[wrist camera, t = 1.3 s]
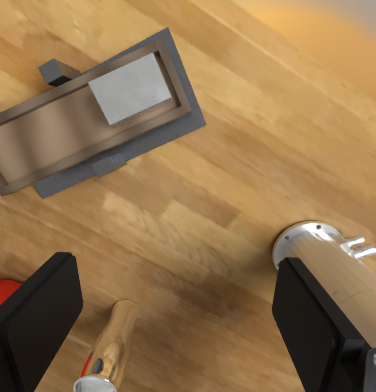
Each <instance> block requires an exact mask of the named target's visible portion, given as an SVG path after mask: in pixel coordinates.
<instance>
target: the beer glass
mask: <svg viewBox="0 0 376 392" xmlns="http://www.w3.org/2000/svg"><path fill="white" fill-rule="evenodd" d="M140 316H141V310H140V307H139V306H138V305H137V304H136V303H135V302H133V301H130V300H120V301H118V302H116V303H115V304H114V306H113V308H112V311H111V316H110V319H109V321H108V323H107V324H106V326H105V327H104V329H103V330H102V332H101V333H100V334H99V336H98V337H97V339H96V340H95V342H94V343H93V345H92V347H91V348H90V350H89V352H88V354H87V356H86V358H85V360H84V362H83V365H82V367H81V370H80V372H79V375H78V377H77V380H76V382H75V384H74V387H73V390H74V392H119V390H120V387H121V385H122V382H123V379H124V377H125V373H126V370H127V367H128V363H129V359H130V353H131V346H132V338H133V332H134V328H135V326H136V324H137V322H138V320H139V318H140Z"/></svg>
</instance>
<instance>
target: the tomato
mask: <svg viewBox="0 0 376 392" xmlns="http://www.w3.org/2000/svg"><path fill="white" fill-rule="evenodd" d="M21 285H22V283H19V282H16V281H14V280H0V305H1V304H2V303H3V302H4V301H5V300H6V299H7V298H8V297H9V296H10V295H11V294H12V293H14V292H15V291H16V290H17V289H18V288H19V287H20V286H21Z"/></svg>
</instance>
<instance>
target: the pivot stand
mask: <svg viewBox="0 0 376 392" xmlns="http://www.w3.org/2000/svg"><path fill="white" fill-rule="evenodd" d="M162 38H163V40H164V43H165V45H166V48H167V50H168V53H169V55H170V58H171V60H172V63H173V65H174V68H175V70H176V73H177V75H178V78H179V80H180V83H181V85H182V88H183V90H184V92H185V95H186V97H187V100H188V102H189V105H190V107H191V112H190V113H188V114H186V115H183V116H181V117H179V118H177V119H175V120H172V121H170V122H168V123H166V124H164V125H161V126H159V127H157V128H155V129H153V130H150V131H148V132H146V133H144V134H142V135H139V136H137V137H135V138H133V139H131V140H128V141H126V142H124V143H122V144H120V145H117V146H115V147H113V148H111V149H109V150H106V151H104V152H102V153H100V154H98V155H95V156H93V157H91V158H89V159H87V160H84V161H82V162H80V163H78V164H76V165H73V166H71V167H69V168H67V169H65V170H62V171H60V172H58V173H56V174H54V175H51V176H49V177H47V178H45V179H43V180H40V181H38V182H36V183H34V186H35V187H36V189H37V191H38V192H39V194H40V195H41V197H42V198H43V199H44V198H46V197H48V196H50V195H53V194H55V193H57V192H59V191H62V190H64V189H66V188H68V187H70V186H73V185H75V184H77V183H79V182H81V181H84V180H86V179H88V178H90V177H92V176H95V175H98V177H101V176H103V175H106V174H108V173H110V172H112V171H114V170H116V169H118V168H120V167H122V166H124V165H126V164H127V163H126V161H128V160H130V159H132V158H134V157H136V156H139V155H141V154H143V153H145V152H147V151H150V150H152V149H154V148H156V147H159V146H161V145H163V144H165V143H167V142H170V141H172V140H174V139H176V138H178V137H181V136H183V135H185V134H187V133H189V132H192V131H194V130H196V129H198V128H200V127H203V126H205V125H206V122H205V120H204V117H203V115H202V112H201V110H200V107H199V104H198V102H197V99H196V97H195V94H194V92H193V89H192V87H191V84H190V82H189V79H188V76H187V74H186V71H185V69H184V66H183V64H182V61H181V59H180V56H179V54H178V51H177V48H176V46H175V43H174V41H173V38H172V36H171V33H170V31H169V28H168V27H167V28H165V29H164V30H162V31H160V32H158V33H156V34H154V35H153V36H151V37H149V38H147V39H145V40H143V41H142V42H140V43H138V44H136V45H134V46H132V47H131V48H129V49H127V50H125V51H123V52H121V53H119V54H118V55H116V56H114V57H112V58H110V59H108V60H107V61H105V62H103V63H101V64H99V65H97V66H96V67H94V68H92V69H90V70H88V71H86V72H85V73H83V74H81V73H80V71H78V70H76V69H74V68H72V67H70V66H68V65H66V64H64V63H62V62H60V61H58V60H56V59H52V60H50V61H48V62H47V63H45V64H43V65H41V66H40V67H38V69H39V71H40V72H41V74H42V76H43V78H44V80H45V81H46V83H47V84H49V85H52V86H55V87H58V86H60V85H62V84H64V83H66V82H68V81H71V80H73V79H75V78H77V77H79V76H81V75H84V74H86V73H88V72H90V71H92V70H94V69H97V68H99V67H101V66H103V65H105V64H107V63H110V62H112V61H114V60H116V59H118V58H120V57H123V56H125V55H127V54H129V53H131V52H133V51H136V50H138V49H140V48H142V47H144V46H146V45H149V44H151V43H153V42H155V41H157V40H159V39H162Z"/></svg>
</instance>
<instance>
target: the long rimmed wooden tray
mask: <svg viewBox="0 0 376 392" xmlns="http://www.w3.org/2000/svg"><path fill="white" fill-rule="evenodd" d="M151 53H153V54H154V57H155V59H156V61H157V64H158V66H159V68H160V71H161V73H162V76H163V78H164V80H165V83H166V85H167V87H168V90H169V92H170V95H171V97H172V98H171V103H170V104H168V105H166V106H163V107H161V108H159V109H157V110H155V111H152V112H150V113H148V114H146V115H144V116H141V117H139V118H137V119H135V120H133V121H130V122H128V123H126V124H124V125H122V126H119V127H114V126H111V125H109V123H108V121H107V119H106V117H105V115H104V113H103V111H102V109H101V107H100V105H99V103H98V101H97V99H96V97H95V95H94V93H93V91H92V89H91V87H90V85H89V83H88V82H90V81H92V80H94V79H96V78H99V77H101V76H103V75H105V74H107V73H109V72H112V71H114V70H116V69H118V68H120V67H122V66H125V65H127V64H129V63H131V62H133V61H135V60H138V59H140V58H142V57H144V56H146V55H148V54H151ZM190 112H191V107H190V105H189V102H188V100H187V97H186V95H185V92H184V90H183V88H182V85H181V83H180V80H179V78H178V75H177V73H176V70H175V68H174V65H173V63H172V60H171V58H170V55H169V53H168V50H167V48H166V45H165V43H164V40H163V38H162V39H159V40H157V41H155V42H153V43H151V44H149V45H146V46H144V47H142V48H140V49H138V50H136V51H133V52H131V53H129V54H127V55H125V56H123V57H120V58H118V59H116V60H114V61H112V62H110V63H107V64H105V65H103V66H101V67H99V68H97V69H94V70H92V71H90V72H88V73H86V74H84V75H81V76H79V77H77V78H75V79H73V80H71V81H68V82H66V83H64V84H62V85H60V86H58V87H55V88H53V89H51V90H49V91H47V92H45V93H42V94H40V95H38V96H36V97H34V98H32V99H29V100H27V101H25V102H23V103H21V104H19V105H16V106H14V107H12V108H10V109H8V110H6V111H3V112H1V113H0V194H1V196H5V195H8V194H11V193H14V192H16V191H18V190H21V189H23V188H25V187H27V186H29V185H32V184H34V183H36V182H38V181H40V180H43V179H45V178H47V177H49V176H51V175H54V174H56V173H58V172H60V171H62V170H65V169H67V168H69V167H71V166H73V165H76V164H78V163H80V162H82V161H84V160H87V159H89V158H91V157H93V156H95V155H98V154H100V153H102V152H104V151H106V150H109V149H111V148H113V147H115V146H117V145H120V144H122V143H124V142H126V141H128V140H131V139H133V138H135V137H137V136H139V135H142V134H144V133H146V132H148V131H150V130H153V129H155V128H157V127H159V126H161V125H164V124H166V123H168V122H170V121H172V120H175V119H177V118H179V117H181V116H183V115H186V114H188V113H190Z"/></svg>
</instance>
